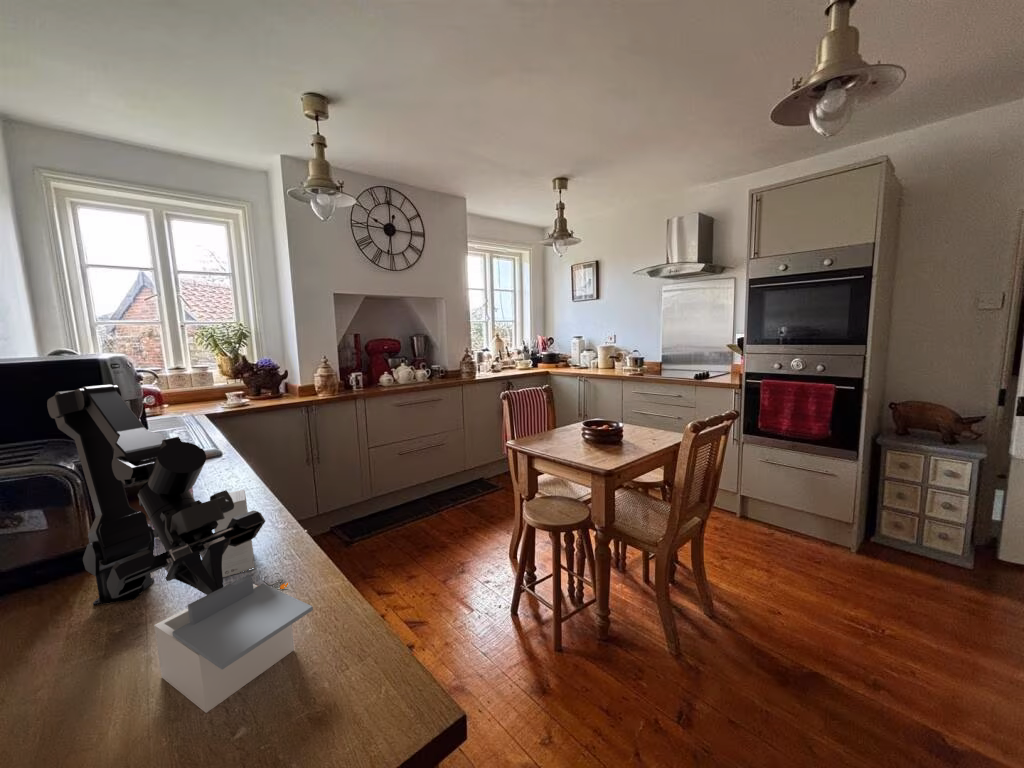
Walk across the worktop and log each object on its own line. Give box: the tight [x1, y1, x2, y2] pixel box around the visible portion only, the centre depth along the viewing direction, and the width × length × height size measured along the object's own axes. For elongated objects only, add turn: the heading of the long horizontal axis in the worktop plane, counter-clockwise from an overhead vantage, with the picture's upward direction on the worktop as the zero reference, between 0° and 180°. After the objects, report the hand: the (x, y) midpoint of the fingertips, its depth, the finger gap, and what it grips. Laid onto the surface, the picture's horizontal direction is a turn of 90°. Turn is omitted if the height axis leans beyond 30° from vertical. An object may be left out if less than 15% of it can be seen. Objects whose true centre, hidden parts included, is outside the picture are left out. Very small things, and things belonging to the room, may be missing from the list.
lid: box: [172, 574, 314, 670], centre depth 58 cm, size 12×12×3 cm
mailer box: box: [153, 583, 295, 714], centre depth 61 cm, size 12×12×8 cm
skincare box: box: [213, 489, 255, 578], centre depth 87 cm, size 8×6×15 cm
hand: (220, 597), depth 61 cm, fingers closed, pressing on lid
